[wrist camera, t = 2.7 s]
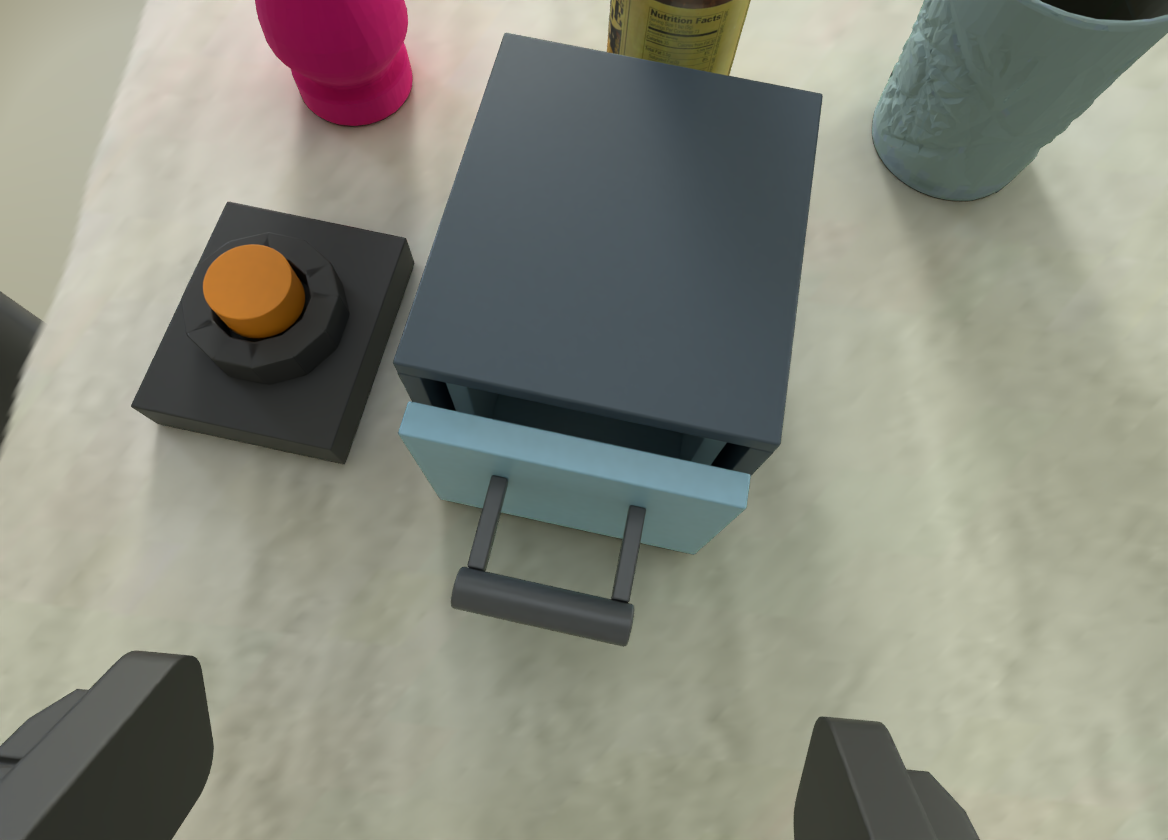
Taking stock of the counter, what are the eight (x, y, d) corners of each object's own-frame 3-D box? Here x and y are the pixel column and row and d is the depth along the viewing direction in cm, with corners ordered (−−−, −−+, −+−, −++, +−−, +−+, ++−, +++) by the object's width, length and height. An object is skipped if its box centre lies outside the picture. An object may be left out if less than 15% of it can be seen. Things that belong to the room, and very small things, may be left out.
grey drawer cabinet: (710, 517, 32) (781, 445, 22) (441, 459, 33) (391, 363, 23) (751, 250, 37) (823, 93, 27) (517, 202, 38) (504, 31, 28)
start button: (208, 329, 30) (188, 309, 29) (239, 259, 32) (222, 236, 30) (288, 346, 30) (273, 327, 29) (316, 275, 31) (303, 253, 30)
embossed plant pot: (1063, 140, 40) (1259, -67, 29) (971, 249, 38) (1148, 66, 26) (915, 46, 43) (1045, -182, 31) (817, 142, 40) (921, -70, 28)
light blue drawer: (677, 667, 29) (726, 663, 21) (407, 607, 29) (350, 579, 21) (736, 289, 35) (791, 169, 27) (513, 243, 36) (501, 112, 27)
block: (156, 423, 33) (104, 390, 29) (245, 227, 36) (209, 175, 33) (345, 464, 32) (317, 436, 28) (415, 262, 36) (398, 214, 32)
